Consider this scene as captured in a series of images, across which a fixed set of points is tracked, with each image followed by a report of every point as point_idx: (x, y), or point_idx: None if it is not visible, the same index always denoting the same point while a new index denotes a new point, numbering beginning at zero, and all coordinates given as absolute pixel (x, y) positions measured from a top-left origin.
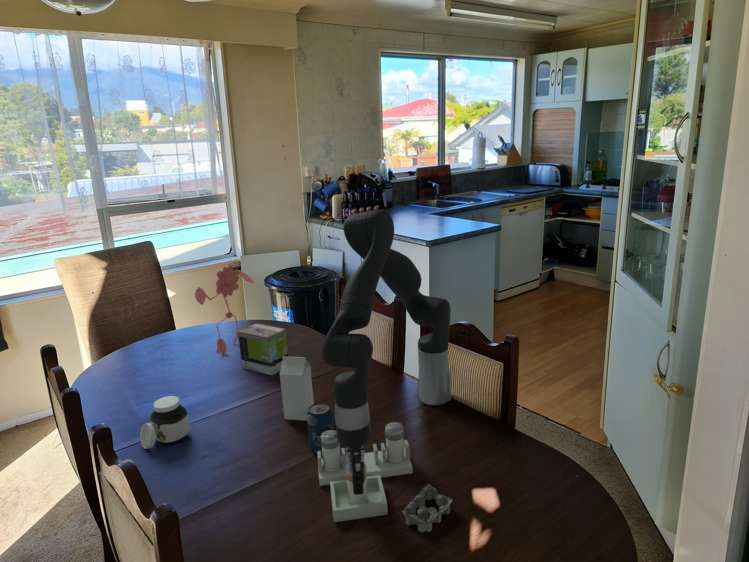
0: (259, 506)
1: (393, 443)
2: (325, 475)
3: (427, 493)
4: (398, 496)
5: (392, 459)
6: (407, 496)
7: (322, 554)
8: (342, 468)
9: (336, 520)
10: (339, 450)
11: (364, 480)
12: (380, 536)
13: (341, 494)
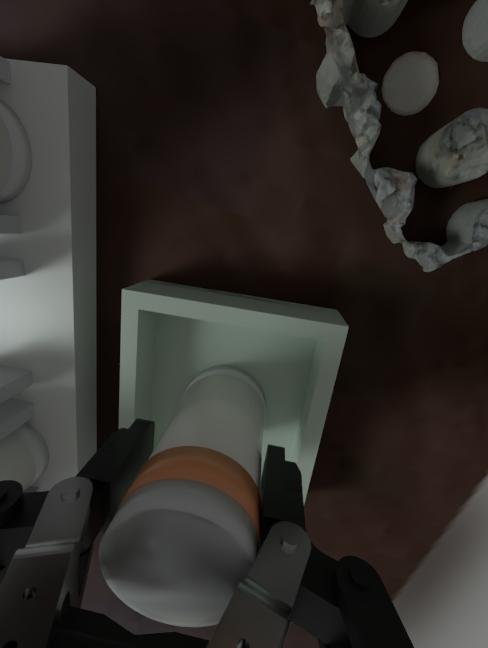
0: (148, 633)
1: None
2: None
3: (326, 56)
4: (243, 224)
5: (3, 177)
6: (257, 180)
7: (420, 557)
8: (29, 417)
9: None
10: None
11: (369, 579)
12: (443, 376)
13: None
